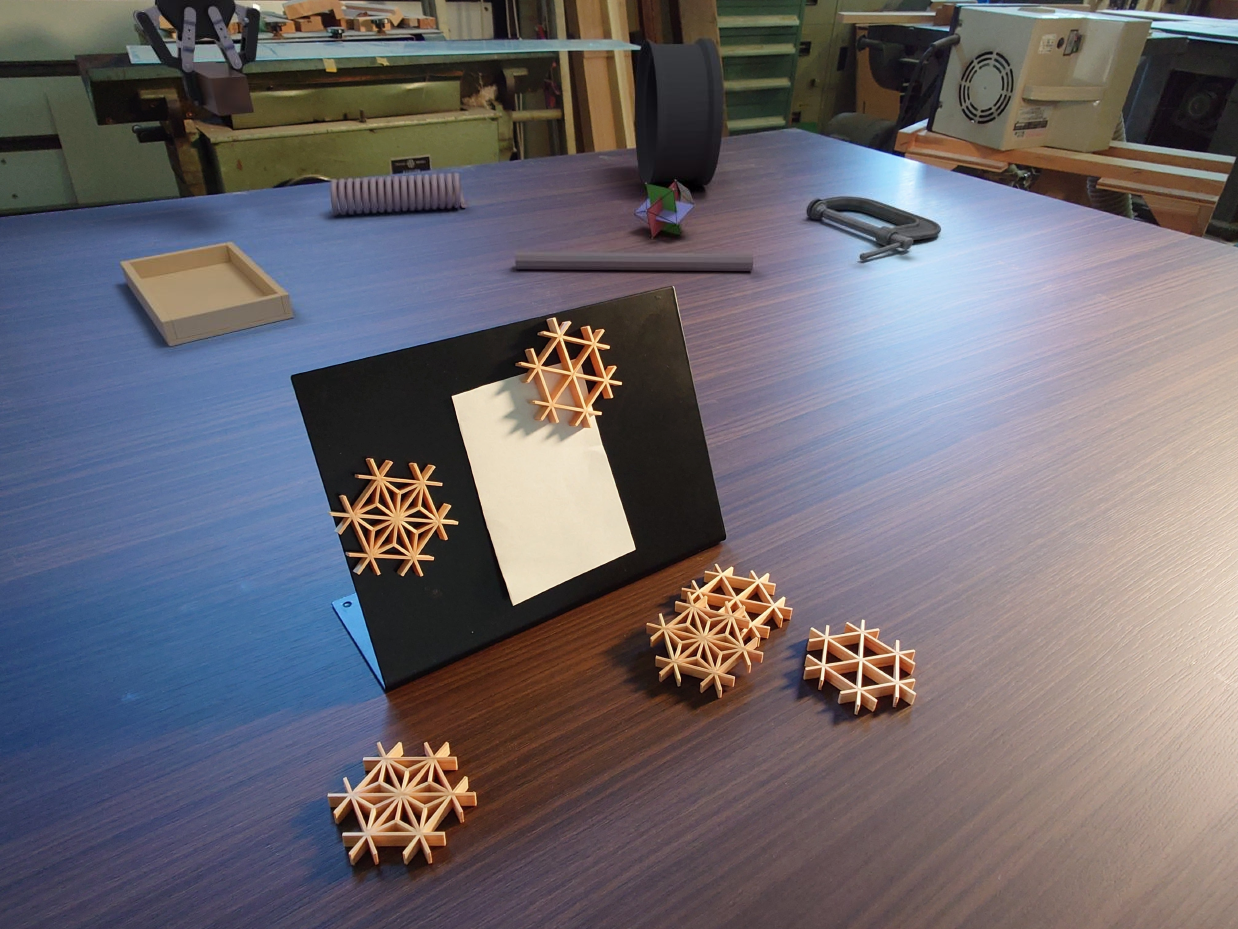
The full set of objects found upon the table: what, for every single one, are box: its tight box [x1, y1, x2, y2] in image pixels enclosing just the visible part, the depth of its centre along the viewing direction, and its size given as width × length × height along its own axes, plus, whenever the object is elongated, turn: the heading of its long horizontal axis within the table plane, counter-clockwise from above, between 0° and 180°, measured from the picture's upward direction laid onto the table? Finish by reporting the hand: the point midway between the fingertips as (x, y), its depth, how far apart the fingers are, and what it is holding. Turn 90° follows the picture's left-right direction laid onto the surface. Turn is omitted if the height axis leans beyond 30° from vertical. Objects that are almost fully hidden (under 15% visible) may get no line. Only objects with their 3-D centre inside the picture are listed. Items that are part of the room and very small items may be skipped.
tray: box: [119, 241, 295, 347], centre depth 84 cm, size 12×20×2 cm, turn 37°
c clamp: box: [805, 195, 942, 262], centre depth 106 cm, size 20×17×3 cm
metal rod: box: [514, 251, 754, 272], centre depth 93 cm, size 2×27×2 cm, turn 90°
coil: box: [329, 172, 468, 216], centre depth 110 cm, size 5×5×18 cm
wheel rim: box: [634, 37, 724, 187], centre depth 119 cm, size 20×9×20 cm, turn 8°
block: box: [193, 60, 255, 117], centre depth 98 cm, size 4×14×4 cm, turn 37°
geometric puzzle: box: [632, 180, 696, 240], centre depth 102 cm, size 7×7×8 cm
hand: (219, 102), depth 99 cm, fingers closed on block, 4 cm apart
